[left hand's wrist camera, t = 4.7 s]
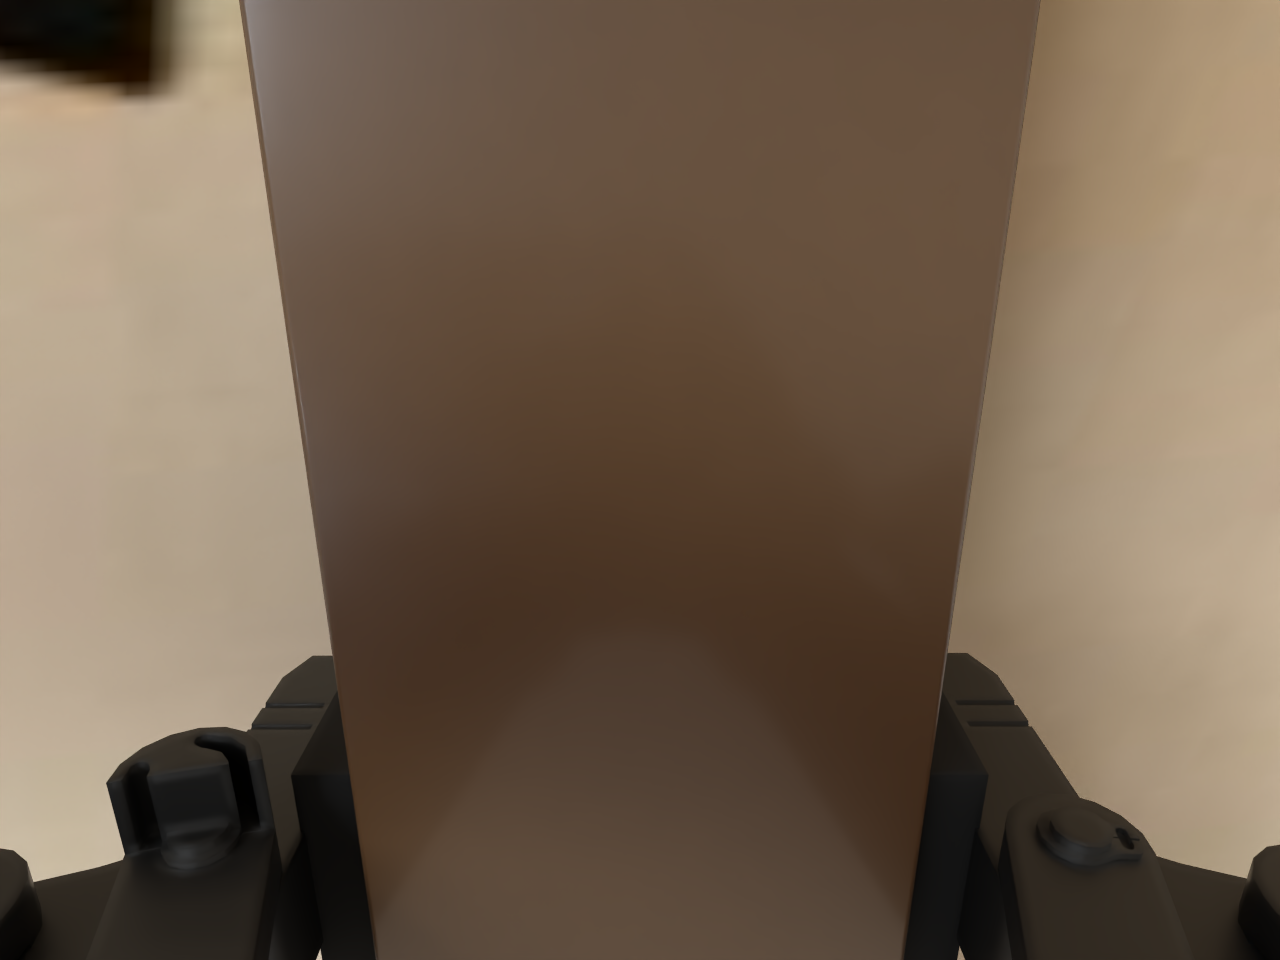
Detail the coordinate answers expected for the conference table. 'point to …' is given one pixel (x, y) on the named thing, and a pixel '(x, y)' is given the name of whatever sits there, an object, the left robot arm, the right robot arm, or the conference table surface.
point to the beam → (639, 447)
